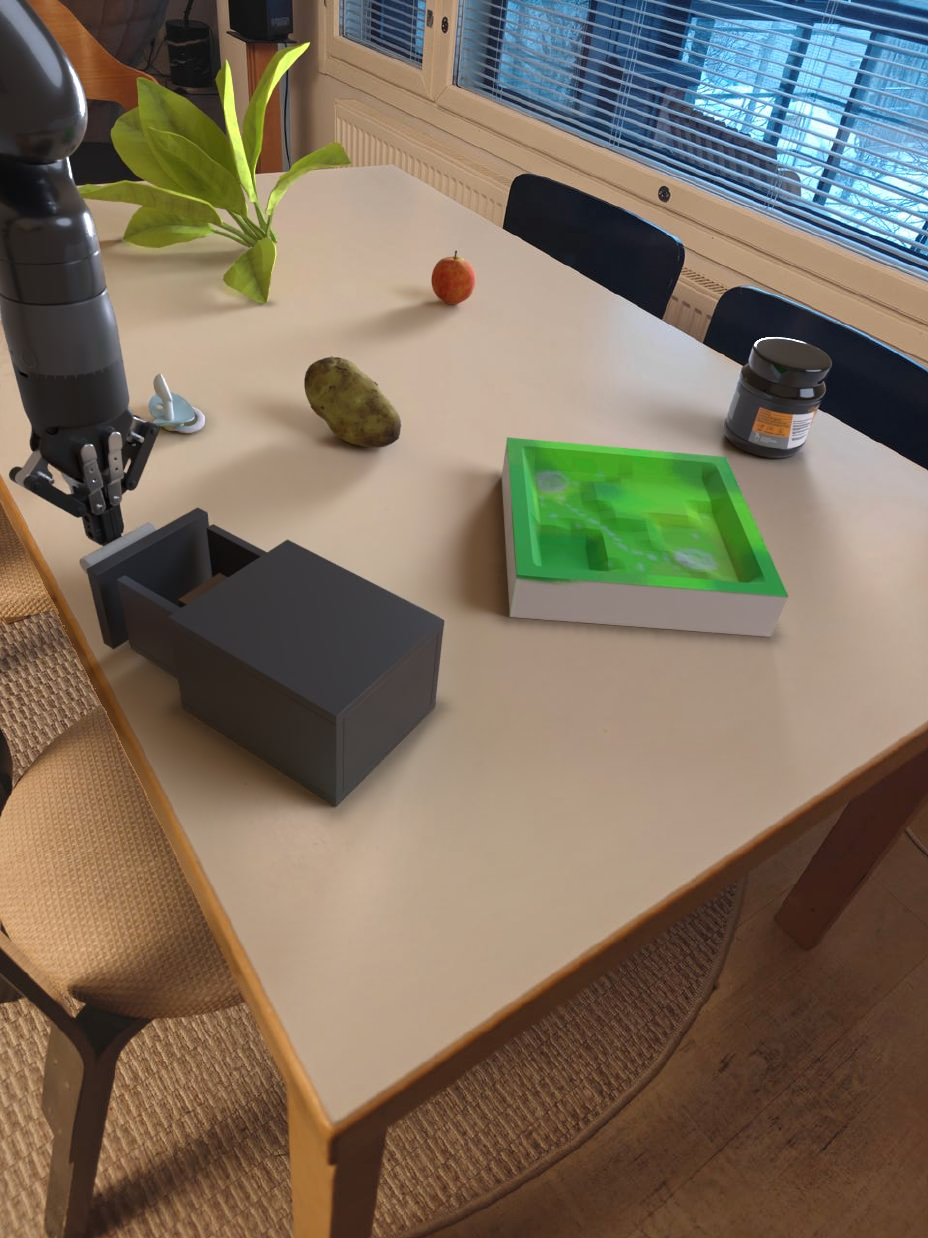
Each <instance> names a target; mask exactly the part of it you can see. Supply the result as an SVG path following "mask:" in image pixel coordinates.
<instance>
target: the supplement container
mask: <svg viewBox="0 0 928 1238" xmlns="http://www.w3.org/2000/svg"><path fill="white" fill-rule="evenodd" d="M751 347H752V348H751V350H750V354H749V357H748V362H746V363H745V364H744V365H743V366H741V369H740V370H739V373H738V379H737V383H736V387H735V389H734V393H733V396H732V398H731V401H730V405H729V408H728V411H727V414H726V417H725V418H724V421H723V427H722V430H723V432H724V435H725V437H726V438H727V439H728V441H729V442H730V443H732V444H733V445H734V446H736V447H737V448H738V449H740V450H742V451H744V452H746V453H748V454H751V455H755V456H758V457H764V458H771V459H780V458H781V459H782V458H788V457H791V456H794V455H796V454H798V453H799V452H800V451H801V450H802V449H803V448H804V446H805V444H806V441H807V437H808V435H809V432H810V430H811V427H812V425H813V422H814V419H815V417H816V414H817V412H818V410H819V407H820V405H821V402H822V400H823V399H824V397H825V395H826V393H827V385H826V383H825V382H826V380H827V378H828V376H829V373H830V371H831V368H832V365H833V361H832V359H831V357H830V356H829V354H827V353H826V352H824V350H822V349H820V348H818V347H817V346H814V345H812V344H810V343H807V342H804V341H801V340H796V339H792V338H786V337H765V338H761V339H759V340H757V341H755V342H754V344H753V345H752V346H751Z"/></svg>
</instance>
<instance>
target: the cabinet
mask: <svg viewBox="0 0 928 1238" xmlns="http://www.w3.org/2000/svg"><path fill="white" fill-rule="evenodd" d="M266 552H267V553H265V554H264V555H262V556H261V557H259V558H258V559H256V560H255V561H253V562H251V563H250V564H248V565H247V566H245V567H244V568H242V569H241V570H239V571H238V572H236V573H234V574H233V575H231V576H230V577H228V578H227V579H225V580H224V581H222V582H221V583H219V584H217V585H216V586H214V587H213V588H211V589H210V590H208V591H207V592H205V593H203V594H202V595H200V596H199V597H197V598H196V599H194V600H193V601H191V602H190V603H188V604H186V605H185V606H183V607H182V608H180V609H179V610H177V611H176V612H174V613H173V614H171V615H169V616H168V623H169V629H170V635H171V641H172V647H173V653H174V659H175V665H176V671H177V677H178V678H177V682H178V688H179V693H180V700H181V706H182V709H183V710H184V711H186V712H187V713H189V714H190V715H192V716H194V717H195V718H197V719H199V721H201V722H203V723H204V724H206V725H208V726H209V727H211V728H212V729H214V730H215V731H217V732H218V733H220V734H221V735H223V736H225V737H226V738H228V739H230V740H231V741H233V742H234V743H235V744H237V745H238V746H240V747H242V748H243V749H245V750H247V752H250V753H251V754H253V755H254V756H256V757H257V758H259V759H261V760H262V761H264V762H265V763H266V764H268V765H270V766H271V767H273V768H275V769H276V770H278V771H279V772H281V773H282V774H284V775H286V776H287V777H289V778H290V779H291V780H292V781H295V782H296V783H298V784H299V785H301V786H303V788H305V789H307V790H308V791H310V792H311V793H313V794H315V795H316V796H318V797H319V798H321V799H323V800H324V801H326V802H327V803H329V804H330V805H332V806H333V807H335V808H337V807H338V806H339V805H340V804H341V803H342V802H343V801H344V800H345V799H346V798H347V797H348V796H349V795H350V794H351V792H353V791H354V790H355V789H356V788H357V787H358V786H359V785H360V784H361V783H362V782H363V781H364V780H365V779H366V778H367V777H368V776H369V775H370V774H371V773H372V772H373V771H374V770H375V769H376V768H377V767H378V765H379V764H381V762H383V761H384V760H385V759H386V758H387V757H388V756H389V755H390V753H392V752H393V751H394V749H395V748H396V747H397V746H399V745H400V743H401V742H403V741H404V740H405V738H406V737H407V736H408V735H409V734H411V732H412V731H414V729H415V728H417V726H419V725H420V724H421V722H423V720H424V719H425V718H426V717H427V716H428V715H430V713H432V711H433V710H434V709H436V702H437V701H436V700H437V693H438V692H437V691H438V684H439V683H438V682H439V676H440V675H439V674H440V666H441V657H442V656H441V655H442V648H443V647H442V646H443V636H444V627H445V621H446V620H445V619H444V618H443V617H440V616H439V615H437V614H435V613H433V612H431V611H429V610H427V609H425V608H423V607H421V606H419V605H417V604H415V603H413V602H411V601H409V600H407V599H405V598H403V597H402V596H399V595H397V594H395V593H393V591H390V590H387V589H386V588H383V587H381V586H380V585H378V584H376V583H374V582H372V581H370V580H369V579H366V578H364V577H362V576H360V575H358V574H356V573H354V572H353V571H350V570H348V569H346V568H344V567H343V566H341V565H339V564H337V563H335V562H333V561H331V560H329V559H327V558H325V557H323V556H321V555H319V554H317V553H315V552H313V551H311V550H309V549H308V548H305V547H303V546H302V545H300V544H298V543H296V542H294V541H291V540H290V539H285V540H284V541H283V542H281V543H279V544H278V545H276V546H274V547H273V548H271V549H270V550H268V551H266Z"/></svg>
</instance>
